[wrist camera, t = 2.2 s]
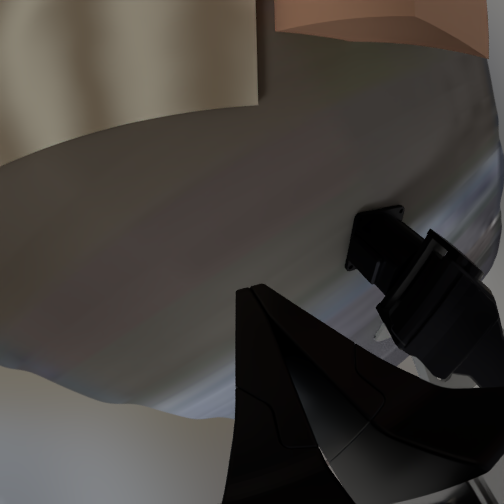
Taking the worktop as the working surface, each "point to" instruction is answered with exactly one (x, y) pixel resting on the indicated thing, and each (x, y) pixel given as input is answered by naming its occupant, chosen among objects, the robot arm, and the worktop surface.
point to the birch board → (118, 65)
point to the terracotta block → (391, 22)
